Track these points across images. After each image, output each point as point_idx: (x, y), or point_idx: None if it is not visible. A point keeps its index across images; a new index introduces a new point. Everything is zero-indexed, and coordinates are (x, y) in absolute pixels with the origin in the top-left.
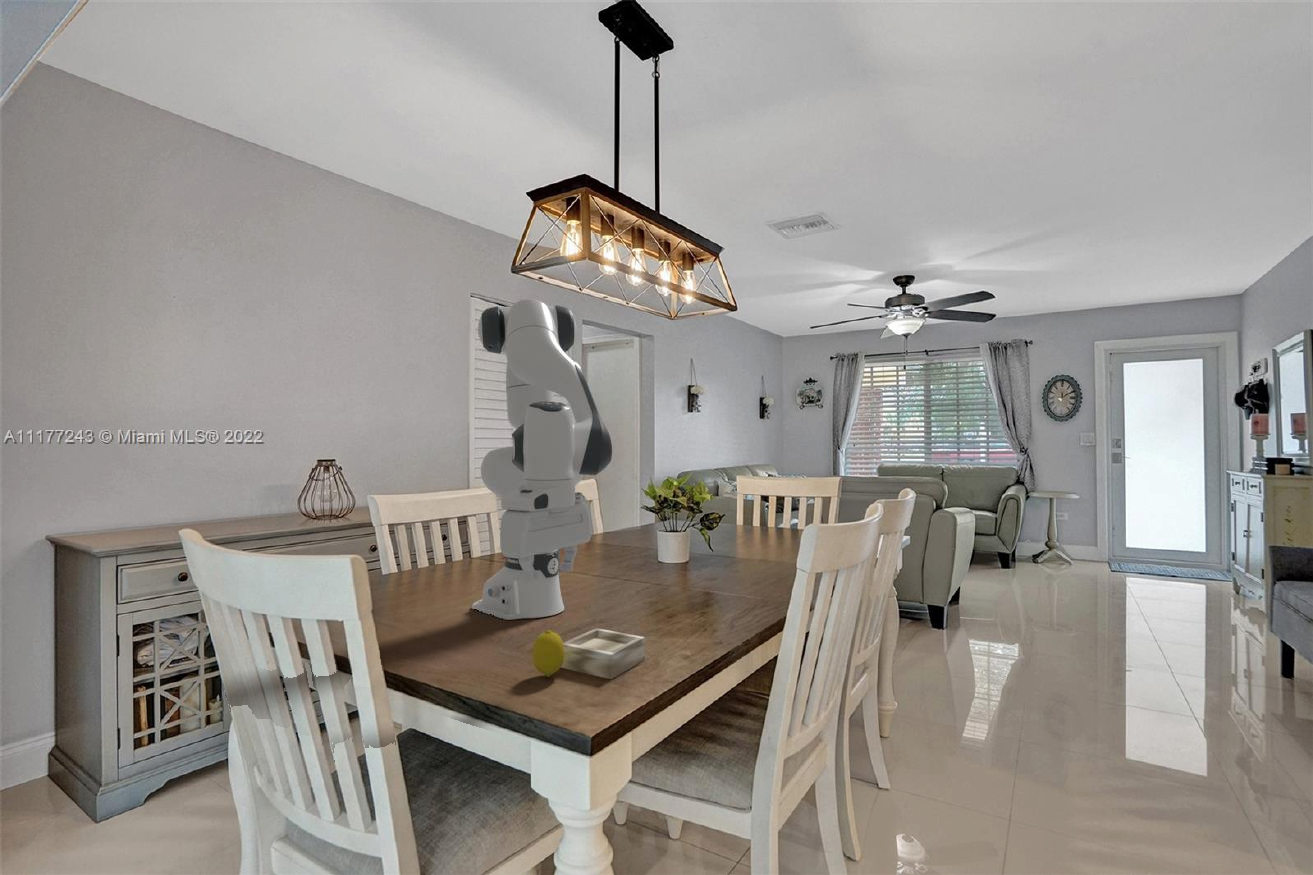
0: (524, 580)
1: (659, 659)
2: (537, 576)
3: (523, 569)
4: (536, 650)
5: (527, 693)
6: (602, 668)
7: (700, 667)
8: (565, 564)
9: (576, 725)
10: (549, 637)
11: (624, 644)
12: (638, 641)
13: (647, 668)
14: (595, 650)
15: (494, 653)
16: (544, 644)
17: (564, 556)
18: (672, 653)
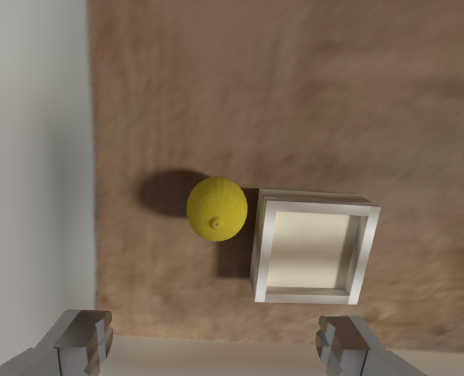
0: (66, 311)
1: None
2: (100, 363)
3: (18, 360)
4: (187, 206)
5: (149, 206)
6: (252, 271)
7: None
8: (330, 366)
9: None
10: (204, 232)
11: (309, 295)
12: (335, 302)
13: None
14: (262, 271)
15: (271, 25)
16: (191, 225)
17: (391, 372)
18: (377, 298)
